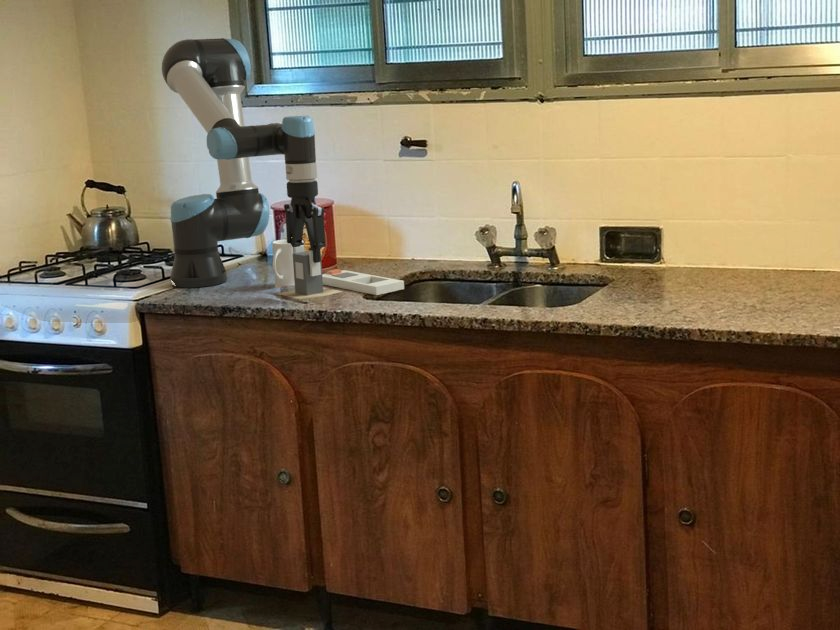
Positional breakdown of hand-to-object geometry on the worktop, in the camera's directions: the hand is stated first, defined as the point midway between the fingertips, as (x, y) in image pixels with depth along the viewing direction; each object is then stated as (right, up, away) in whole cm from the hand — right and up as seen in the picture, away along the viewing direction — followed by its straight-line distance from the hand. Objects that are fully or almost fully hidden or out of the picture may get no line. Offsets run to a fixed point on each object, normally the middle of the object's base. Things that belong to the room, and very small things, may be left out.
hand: (308, 273), depth 257 cm
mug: (-7, -3, +14) cm, 16 cm away
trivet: (0, -6, +1) cm, 6 cm away
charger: (0, -5, +1) cm, 5 cm away
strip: (+11, -3, +9) cm, 14 cm away
